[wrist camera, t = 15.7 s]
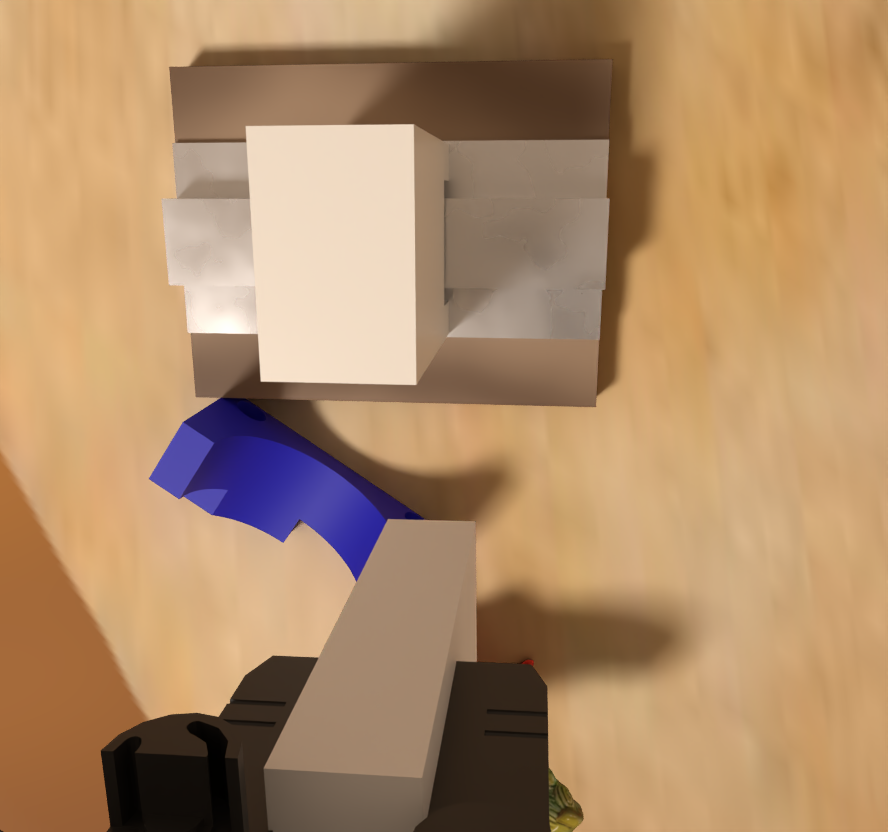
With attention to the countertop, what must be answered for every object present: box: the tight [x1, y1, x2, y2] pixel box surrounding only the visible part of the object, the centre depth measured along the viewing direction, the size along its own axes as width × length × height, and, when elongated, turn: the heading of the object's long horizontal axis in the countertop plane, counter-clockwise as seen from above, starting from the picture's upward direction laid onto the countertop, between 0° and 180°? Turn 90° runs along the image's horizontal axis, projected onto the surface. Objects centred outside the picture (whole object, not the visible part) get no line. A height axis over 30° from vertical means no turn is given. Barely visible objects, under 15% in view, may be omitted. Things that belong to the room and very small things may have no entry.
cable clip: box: [149, 398, 425, 582], centre depth 37 cm, size 12×4×6 cm, turn 56°
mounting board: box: [169, 59, 612, 407], centre depth 36 cm, size 14×18×2 cm
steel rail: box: [162, 140, 610, 340], centre depth 34 cm, size 8×18×2 cm, turn 90°
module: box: [246, 124, 449, 385], centre depth 30 cm, size 8×5×10 cm, turn 0°
